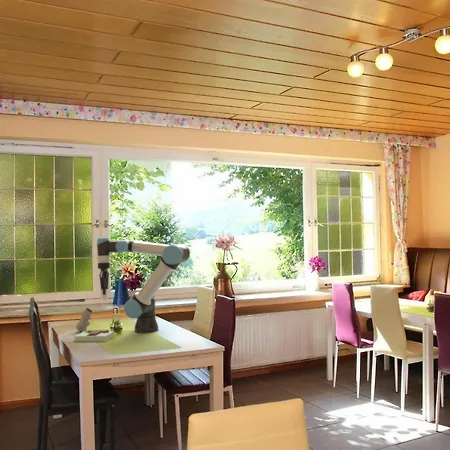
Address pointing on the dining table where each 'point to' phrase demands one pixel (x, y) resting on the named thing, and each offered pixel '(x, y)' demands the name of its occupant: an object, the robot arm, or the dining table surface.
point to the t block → (96, 332)
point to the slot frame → (100, 337)
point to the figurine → (84, 320)
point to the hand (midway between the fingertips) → (105, 299)
